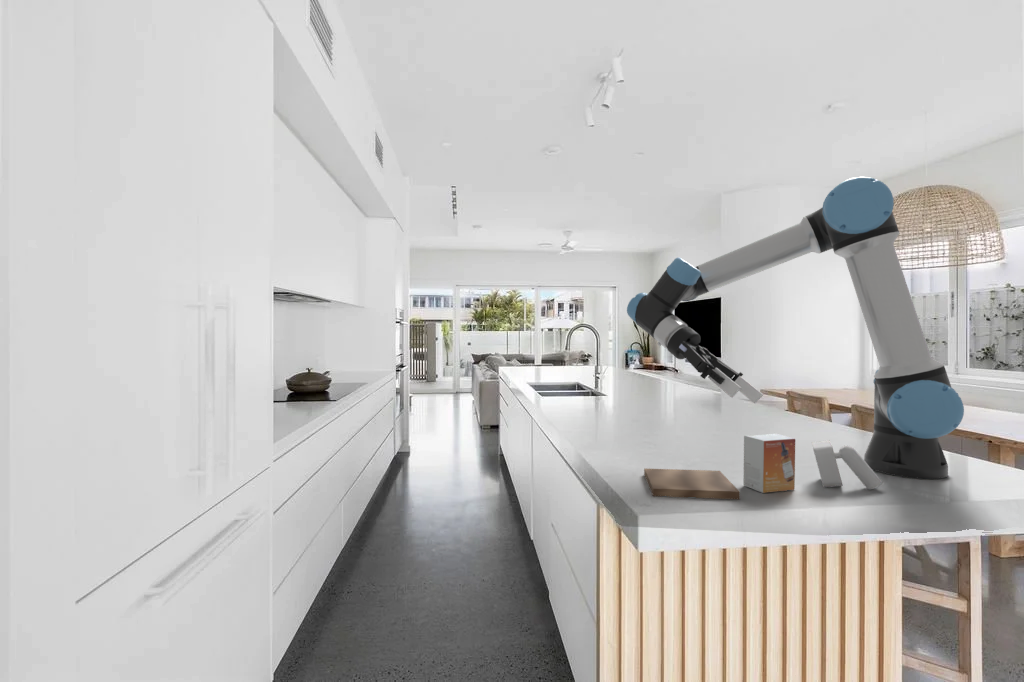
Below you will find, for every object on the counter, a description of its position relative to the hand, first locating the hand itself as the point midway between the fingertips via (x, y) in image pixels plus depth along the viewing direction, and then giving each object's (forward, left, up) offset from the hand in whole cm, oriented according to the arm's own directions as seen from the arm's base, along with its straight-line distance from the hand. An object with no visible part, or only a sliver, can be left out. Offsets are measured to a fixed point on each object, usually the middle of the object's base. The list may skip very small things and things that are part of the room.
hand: (748, 396), depth 109 cm
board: (+14, +7, -18) cm, 23 cm away
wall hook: (-18, +3, -18) cm, 26 cm away
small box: (-2, +6, -18) cm, 19 cm away
